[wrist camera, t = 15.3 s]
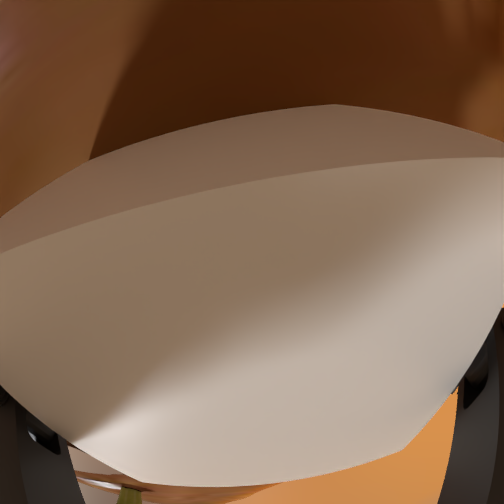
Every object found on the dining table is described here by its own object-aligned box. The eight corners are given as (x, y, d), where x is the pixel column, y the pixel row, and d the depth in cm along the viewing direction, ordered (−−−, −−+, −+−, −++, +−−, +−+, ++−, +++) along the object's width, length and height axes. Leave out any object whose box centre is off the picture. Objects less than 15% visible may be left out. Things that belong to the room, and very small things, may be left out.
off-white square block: (88, 160, 10) (-73, 287, 2) (334, 104, 9) (541, 159, 2) (164, 334, 15) (141, 481, 7) (343, 303, 15) (402, 449, 7)
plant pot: (142, 493, 55) (141, 515, 48) (114, 485, 52) (111, 508, 45) (149, 492, 52) (148, 516, 44) (118, 484, 49) (116, 508, 41)
